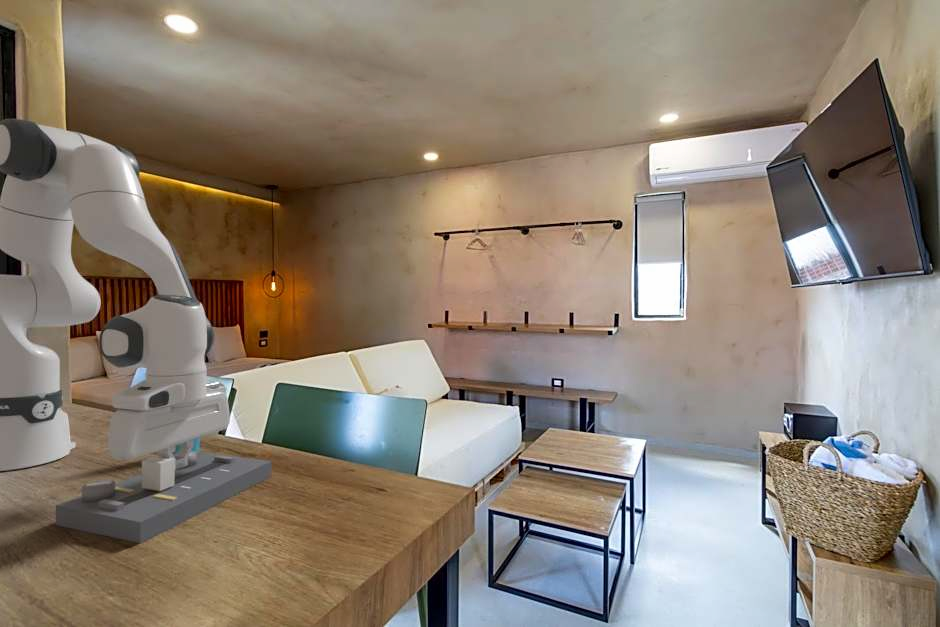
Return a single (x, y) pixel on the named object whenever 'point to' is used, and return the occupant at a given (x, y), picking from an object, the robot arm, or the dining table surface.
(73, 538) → the dining table surface
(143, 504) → the console
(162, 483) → the fader cap
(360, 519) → the dining table surface
